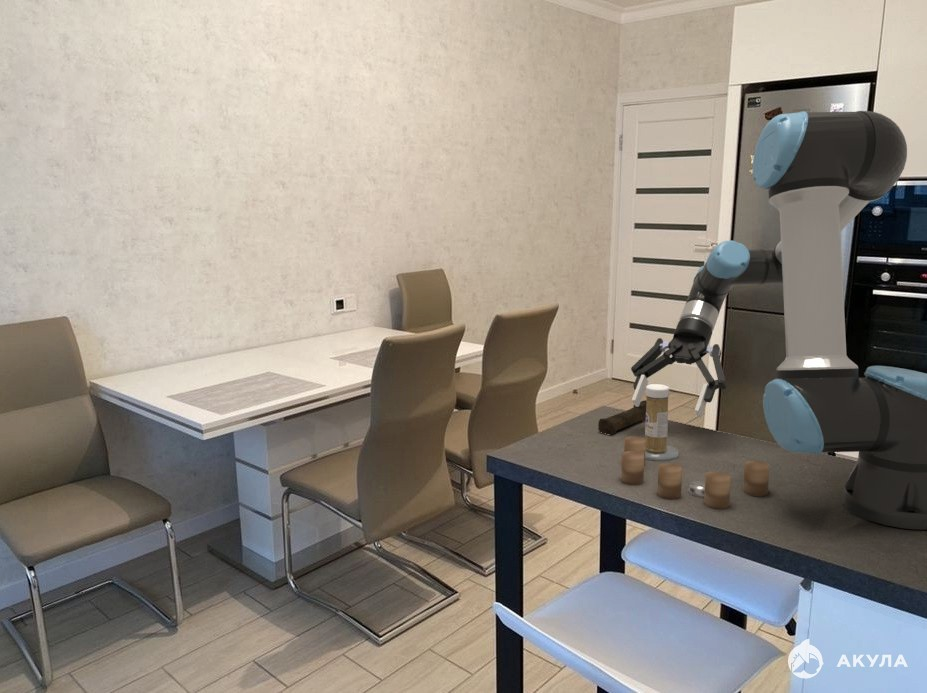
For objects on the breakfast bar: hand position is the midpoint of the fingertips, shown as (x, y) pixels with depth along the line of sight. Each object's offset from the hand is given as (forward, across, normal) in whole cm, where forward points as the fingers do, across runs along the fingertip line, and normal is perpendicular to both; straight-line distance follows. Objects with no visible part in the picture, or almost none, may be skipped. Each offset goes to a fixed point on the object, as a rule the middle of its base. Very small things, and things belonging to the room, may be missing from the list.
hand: (665, 408), depth 146 cm
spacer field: (+17, -10, +6) cm, 21 cm away
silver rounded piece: (+20, -15, +8) cm, 26 cm away
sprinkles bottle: (+9, 0, -2) cm, 9 cm away
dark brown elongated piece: (0, +13, -13) cm, 18 cm away
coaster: (+9, 0, -2) cm, 10 cm away
